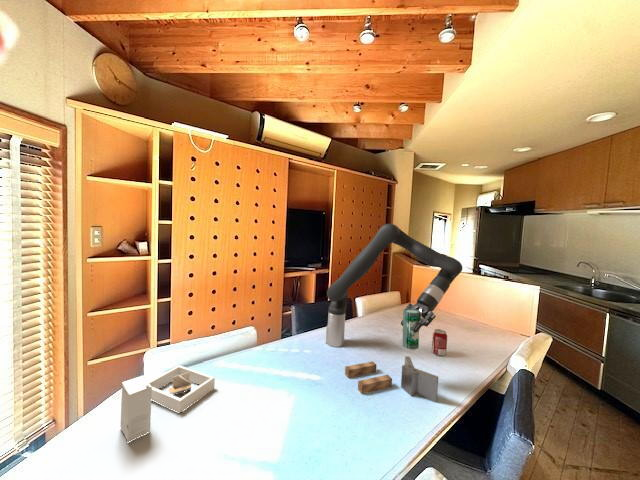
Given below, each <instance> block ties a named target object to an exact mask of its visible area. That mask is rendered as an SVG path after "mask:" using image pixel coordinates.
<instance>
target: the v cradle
mask: <svg viewBox="0 0 640 480" xmlns="http://www.w3.org/2000/svg"><path fill="white" fill-rule="evenodd" d="M400 388H401V389H403V390H404V391H405V392H406V393H407V394H408V395H409V396H410V397H414V396H420V397H422V398H424V399H427V400H429V401H431V402H434V403H436V402H437V400H438V391H439V390H438V388H439V376H437V375H435V374H432V373H429V372H427V371H424V370H421V369H418V368H415V366H414V364H413V362H412V359H411V357H410V356H408V355H407V356H404V364H403V365H402V366H401V379H400Z"/></svg>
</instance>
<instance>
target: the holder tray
mask: <svg viewBox="0 0 640 480" xmlns="http://www.w3.org/2000/svg"><path fill="white" fill-rule="evenodd" d="M185 373H189V381H190V380H191V383H192V382H194V383H196V384H195V385H197V384H199V385H197V386H196V387H195V388H194V389H191V392H190V391H188V393H186V394H184V395H183V396H182V397H178V396H177V395H174V396H173V394H170V392H169V393H168V392H167V391H163V390H162V388H163V387H162V386H164V385H166V384H167V383H169V382H171V381H172V380H173V377H174V376H178V375H181V374H185ZM215 379H216V377H214V376H211V375H209V374H206V373H204V372H200V371H197V370H194V369H191V368H188V367H185V366H184V365H183V366H182V365H180V364H179V365H177V366H176V367H173V368H172V369H169V370H168V371H165V372H164V373H162V374H161V375H159V376H156V377H155V378H153V379H152V380H151V379H150V381H149V380H148V383H149V384H150V385H151V386H152V397H151V399H152V400H154V401H156V402H158V403H160V404H162V405H164V406H166V407H168V408H170V409H173V410H175V411H177V412H179V413H180V412H182V411H183V410H184V409H186V408H187V407H188V406H190V405H191V404H193V403H194V402H196V401H197V400H198V401H200V400H201V399H203V398H204V397H205V396H207V395H208V394H209V393H210V391H211V392H212V391H213V390H215V383H216V381H215ZM172 382H173V381H172ZM172 382H171V383H172ZM194 383H193V384H194ZM169 384H170V383H169ZM167 385H168V384H167ZM167 385H166V386H167ZM161 387H162V388H161ZM164 387H165V386H164ZM159 388H161V389H159ZM207 393H208V394H207ZM206 394H207V395H206ZM203 396H204V397H203ZM200 398H201V399H200ZM199 399H200V400H199ZM198 401H197V402H198ZM197 402H196V403H197ZM194 404H195V403H194ZM194 404H193V405H194ZM190 407H191V406H190ZM186 410H187V409H186ZM183 412H184V411H183ZM183 412H182V413H183Z"/></svg>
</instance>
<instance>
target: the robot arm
mask: <svg viewBox="0 0 640 480" xmlns="http://www.w3.org/2000/svg"><path fill="white" fill-rule="evenodd" d="M391 244H394V245H397V246H400V248H403V249H405V250H406V251H408V252H409V253H410V254H412V256H415V258H417V259H418V260H420V261H422V262H423V263H424V264H426V265H428V266H430V267H438V268H440V270H439V271H438V273H437V274H436V276H435V277H434V278H433V279H432V280H431V282H430V283H429V284H428V286H426V287H425V288H424V290H423V292H421V294H420V295H419V296H418V298H417V299H416V303H415V304H412V303H410V302H409V303H408V304H407V305H406V307H405V309H407V308H408V309H409V308H410V309H416V310H419V312H420V315H419V319H418V323H416V324H415V326H414V327H413V328H412V331H413V332H415V333H416V332H418V331H419V332H420V330H421V328H422V327H427V328H428V326H429V325H430V324H431V323H432V322H433V321H434V319H435V318H436V315H435V313H434V310H435V309H436V307H438V305H439V304H440V302H441V301H442V299H443V297H444V295H445V294H446V292H447V291H448V290H449V288H450V286H451V284H452V283H453V282H454V280H455V279H456V278H457V277H458V276H459V275H460V274H461V273H462V271H463V264H462V263H461V262H460V261H459V260H458V259H456V258H454V257H451V256H449V255H446V254H444V253H443V254H442V253H440V252H438V251H436V250H434V249H433V248H431V247H430V246H428V245H426V244H424V243H422V242H420V241H419V240H416V239H414V238H413V237H411V236H410V235H408V234H407V233H406V232H404V231H403V230H402V229H400V228H399V227H398V226H397V225H396V224H394V223H385V224H383V225H382V226H381V227H380V228H379V229H378V231H377V232H376V234H375V235H374V236H373V238H372V239H371V240H370V242H369V243H368V244H367V245H366V246H365V247H364V248H363V249H362V250H361V251H360V252H359V253H358V254H357V256H355V258H354V259H353V260H352V261H351V262H350V264H349V265H348V266H347V267H346V269H345V270H343V273H342V274H341V275H340V276H339V277H338V279H336V280H335V281H334V282H333V283H332V284H330V285H329V287H328V288H327V292H326V296H327V299H329V301H331V302H330V303H329V306H328V316H327V317H328V318H327V325H326V330H325V331H326V332H325V333H326V334H325V344H327V345H329V346H330V347H333V348H338V347H340V348H341V347H343V346H344V344H345V327H346V309H347V306H348V298H349V297H348V296H349V295H348V294H349V291H348V290H349V289H350V288H351V287H352V286H353V285H354V284H355V283H356V282H358V281H359V280H360V279H362V278H363V277H364V276H365V275H366V274H367V273H368V272H369V271H370V270H371V268H372V267H373V266H374V265H375V264H376V261H377V260H378V258H379V256H380V254H381V253H382V252H383V251H385V249H386V248H387V247H389V246H390V245H391ZM400 325H401V326H402V327H403V319H402V320H401V321H400Z"/></svg>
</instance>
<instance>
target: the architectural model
mask: <svg viewBox="0 0 640 480" xmlns="http://www.w3.org/2000/svg"><path fill="white" fill-rule="evenodd" d="M168 390H169V394H171V395H173V394H176V393H180V394H183V395H186V394H187V393H186V392H187V391H186V390H190V391H189V392H191V391H192V382H191V380H190V381H189V373H185V374H181V375H178V376H174V377H173V381H172V387H170V388H168ZM184 391H185V393H186V394H185V393H184Z"/></svg>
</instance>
